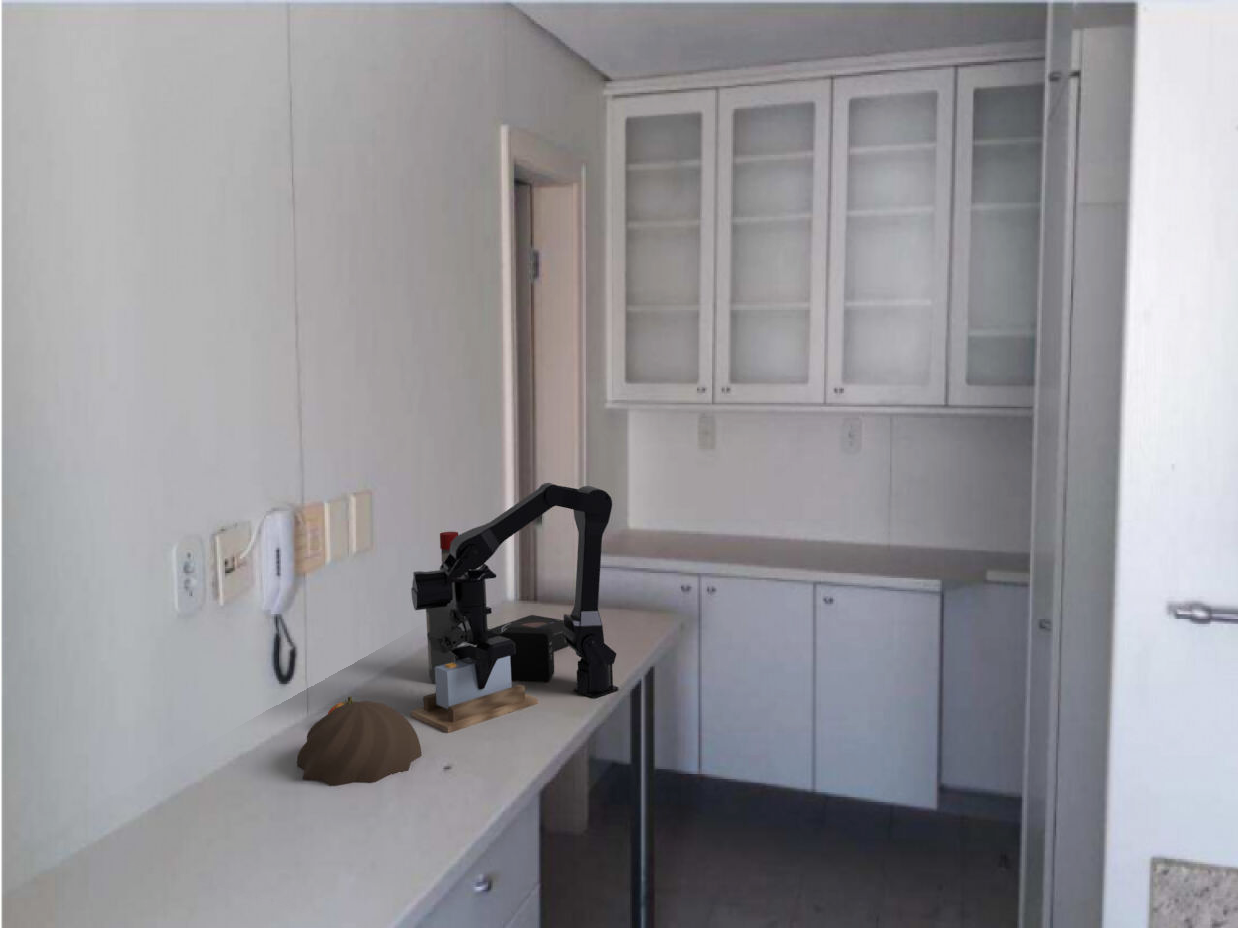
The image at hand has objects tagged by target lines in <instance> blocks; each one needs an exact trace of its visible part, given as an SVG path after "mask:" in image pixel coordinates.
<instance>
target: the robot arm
mask: <svg viewBox="0 0 1238 928" xmlns="http://www.w3.org/2000/svg"><path fill="white" fill-rule="evenodd" d="M553 507H559V508H565V509H570V510H573V517H574V521H575V525H576V528H577V529H576V530H577V533H578V539H577V541H578V542H577V559H576V561H577V562H576V574H575V575H576V578H575V594H574V596H575V597H574V607H573V608H572V610H571V613H570V614H566V613H565V614H563V620H564V630H563V632H562V634H563V635H564V636H565V640H566V642H567V644H568V645H569V646H568V647H570V649H572V650H573V651H575V654H576V656H577V657H579V658H580V660H578V661H577V670H576V686H575V687H573V689H572V691H573V692H576V693H579V694H582V695H584V696H588V697H591V698H593V699H595V698H598V697H602V696H604V695H608V694H610V693H614V692H617V691H619V690H620V689H619V686H616V685H614V684H613V683H614V682H613V680H614V676H613V673H614V672H613V671H614V670H613V665H614V664H615V661H616V658H617V653H616V651H614V650H613V649H612V648H611V647H609V646H608V644H606V643H605V635H604V634H605V633H604V629H603V627H604V626H603V625H604V624H603V622H602V618H601V616H600V611H599V598H600V583H601V582H600V580H601V578H600V576H601V564H602V562H601V561H602V548H603V547H602V545H603V535H604V533H605V531H606V529H607V527H608V524H609V522H610V517H611V512H612V509H613V499H612V497H611V496H610V494H609V493H608V492H607V491H605V490H603V489H600V488H598V487H594V486H591V485H584V486H582V487H580V488H573V487H569V486H563V485H557V484H554V483H551V482H544V483H542V484H541V485H539V487H538V488H537V489H536V490H534V491H533V492H532V493H530V494H529V495H527V496H526V497H524V498H523V499H522V500H519V502H517V503H516V504H514V505H512V506H511V507H510V508H509V509H507V510H506V511H504V512H503V513H501V514H499V516H497V517H495V518H494V519H493V520H491V521H490V522H487V523H485V524H483V525H480V526H476V527H473V528H471V529H469V530H467V531H465V532H462V533H459V534H458V536H456V537H455V538H454V539H453V540H452V542H451V546H450V553H449V554H448V556H447V557H446V559H445V561H444V562H443V564H442V563H441V565H440V567H439V570H430V571H421V570H420V571H418V570H417V571H414V572H413V573H412V574H413V579H412V587H411V588H410V594H411V600H412V605H413V608H414V611H421V610H426V609H431V608H439V607H447V604H448V603H450V602H451V601H452V599H453V589H452V583H454V596H455V609H452V610H450V611H451V612H450V613H449V620H448V621H446V622H443V623H441V624H440V625H439V626H437V627H435V628H434V629H433V630H431V631H430V632H428V633H427V632H426V637H427V636H428V639H429V641H430V644H431V646H432V649H433V650H437V651H440V652H441V653H448V652H449V653H451V654H452V655H453V656H454V657H455V660H456V661H458V660H462V659H466V658H470V659H471V660H472V661H473V662H474V663H475V670H476V677H477V684H478V688H479V689H480V690H481V689H484V688H485V686H486V683H487V681H488V679H489V676H490V674H491V672H492V669H493V667H494V665H495V663H496V661H497V660H498V659H500V658H504V657H507V656H511V655H514V654H515V643H514V642H513V641H512V640H511V639H508V638H505V637H501V636H497V637H494V638H490V639H487V637H488V636H491V635H493V633H492V630H491V629H492V628H488V627H489V626H488V615H491V614H492V607H490V606H487V590H486V589H487V588H486V587H487V585H486V580H490V579H496V578H497V574H496V573H495V572H493V571H492V570H491V569H490V567H489V566H488V565H487V564H486V562H487V561H488V560H490V558H491V557H492V556H493V555H495V553H496V552H497V550H498V549H499V548H500V546H501V545H502V544H503V543H504V542H505V541H506V540H508V539H510V538H511V537H512V536H514V534H516V533H517V532H519V531H520V530H522V529H523V528H525V527H526V526H528V525H530V524H531V523H532V522H533V521H536V519H538V518H540V517H541V516H542V515H543V514H545V513H546V512H548V511H549V510H551V509H552V508H553ZM428 639H427V640H428Z"/></svg>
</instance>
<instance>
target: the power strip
mask: <svg viewBox="0 0 1238 928" xmlns="http://www.w3.org/2000/svg"><path fill="white" fill-rule="evenodd" d="M435 683H436V684H435V693H436V702H437V705H439V706H441V707H444V708H446V709H448V707H449V706H452V705H455V704H459V703H462V702H465V701H468V700H471V699H475V698H478V697H481V696H484V695H488V694H491V693H494V692H497V691H501V690H504V689H507V688H510V687H513V686H512V681H511V663H510V656H507V657H504V658H500V659H498V660H497V661H496V663H495V665H494V667H493V669H492V672H491V674H490V676H489V679H488V681H487V683H486V686H485V688H484V689H481V690H480V689H479V688H478V684H477V677H476V670H475V663H474V662H473V661H472V660H471V659H470V658H466V659H462V660H458V661H455V662H451V663H448V664H444V665H440V666H437V667H435Z"/></svg>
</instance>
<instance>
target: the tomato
mask: <svg viewBox="0 0 1238 928" xmlns="http://www.w3.org/2000/svg"><path fill="white" fill-rule="evenodd" d="M352 699H353V696H348V697H347V699H345V701H344V702H337V703H336V704H335V705H333V706H332V707H331V708H330V709H329V710H328V712H327V715H328V714H329V713H331V712H332V711H333V710H334V709H336V708H338V707H340V706H342V705H345V704H349V703H353V702H355V701H354V700H352Z"/></svg>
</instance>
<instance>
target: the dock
mask: <svg viewBox="0 0 1238 928" xmlns="http://www.w3.org/2000/svg"><path fill="white" fill-rule="evenodd" d="M525 688H526V687H525V685H521V684H518V685H514V686H512V687H510V688H507V689H504V690H501V691H497V692H494V693H491V694H488V695H484V696H481V697H478V698H475V699H471V700H468V701H465V702H462V703H459V704H455V705H452V706H449V707H448V709H446V708H444V707H441V706H439V705H437V702H436V692H434V693H431V694H427V695H424V696H423V699H422V701H423V707H419V708H416V709H412V710H410V717H412V718H414V719H416V720H419V721H421V722H422V723H426V724H427V725H430V726H432V727H434V728H436V729H439V730H441V731H443V732H445V733H447V734H448V733H449V734H450V733H452V732H456V731H458V730H461V729H465V728H467V727H470V726H473V725H476V724H480V723H483V722H486V721H488V720H492V719H495V718H498V717H500V716H503V715H508V714H509V712H510V713H513V712H516V711H519V710H522V709H526V708H528V707H530V706H531V707H532V706H534V705H537V704H538V703H539V699H538V697H537V696H533V695H531V694H527V693H525V692H526V691H525ZM512 711H513V712H512ZM497 716H498V717H497Z"/></svg>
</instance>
